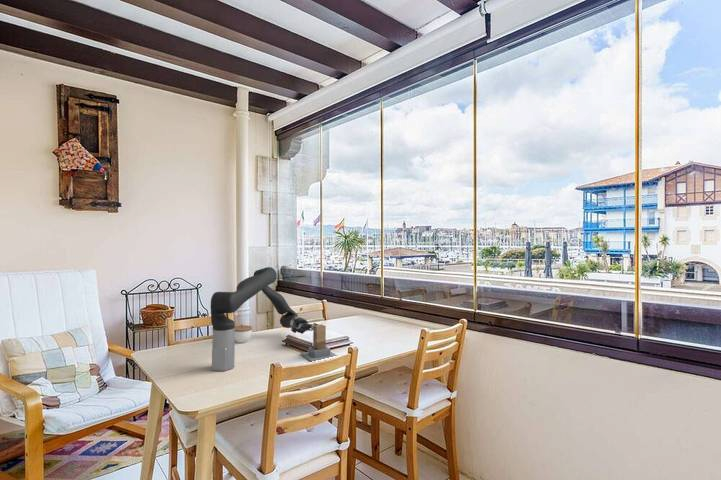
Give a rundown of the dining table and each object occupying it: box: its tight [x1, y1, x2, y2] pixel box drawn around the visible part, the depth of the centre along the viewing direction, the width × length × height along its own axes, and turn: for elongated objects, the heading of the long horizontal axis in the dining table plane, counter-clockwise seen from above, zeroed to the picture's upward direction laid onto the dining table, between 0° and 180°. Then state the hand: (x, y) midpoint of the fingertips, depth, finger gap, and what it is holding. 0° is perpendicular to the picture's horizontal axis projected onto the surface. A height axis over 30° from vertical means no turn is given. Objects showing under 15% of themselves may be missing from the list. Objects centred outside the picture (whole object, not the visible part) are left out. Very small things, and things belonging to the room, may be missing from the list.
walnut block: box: [312, 323, 327, 350], centre depth 189 cm, size 4×4×14 cm
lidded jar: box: [235, 323, 253, 344], centre depth 214 cm, size 11×11×9 cm
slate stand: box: [299, 346, 338, 363], centre depth 189 cm, size 14×14×4 cm
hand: (310, 330), depth 198 cm, fingers open, 8 cm apart
